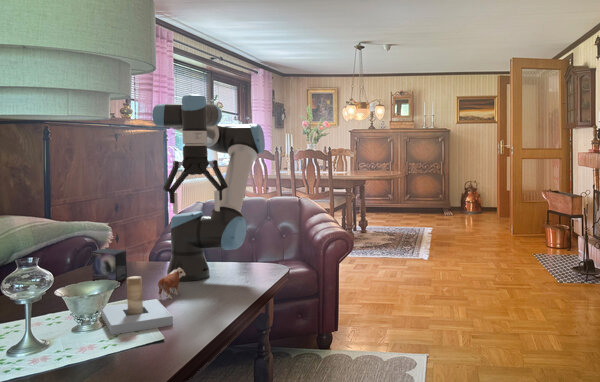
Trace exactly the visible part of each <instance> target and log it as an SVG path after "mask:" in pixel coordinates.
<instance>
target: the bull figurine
mask: <svg viewBox="0 0 600 382" xmlns="http://www.w3.org/2000/svg"><path fill="white" fill-rule="evenodd" d="M182 276H185V273H184V271H183V270H182V269H181V268H178V269H174V270H173V271H172V272H171V273H169V274H168V275H166V276H163V277H162V278H160V279H159V281H158V283H157V286H158V296H159V297H158V301H162V300H163V298H162V293H164V295H165V297H167V298H168V299H169V300H170V299H171V300H173V297H172V295H171V294H174V295H175V296H178V295H179V294H178V288H179V284H180V281H179V278H181V277H182ZM173 288H174V290H173Z"/></svg>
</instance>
